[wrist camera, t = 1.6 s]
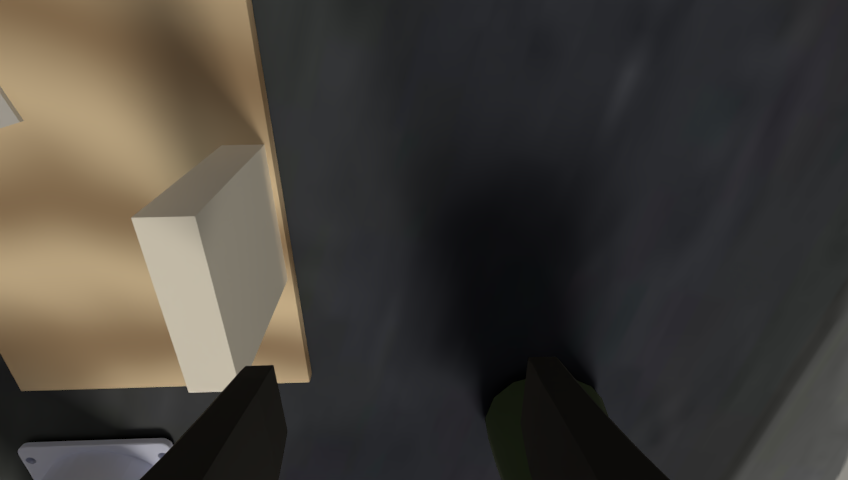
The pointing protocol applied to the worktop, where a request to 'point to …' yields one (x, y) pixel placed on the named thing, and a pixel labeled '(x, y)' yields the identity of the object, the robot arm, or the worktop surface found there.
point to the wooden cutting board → (118, 179)
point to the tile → (215, 262)
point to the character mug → (514, 430)
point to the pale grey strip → (7, 111)
